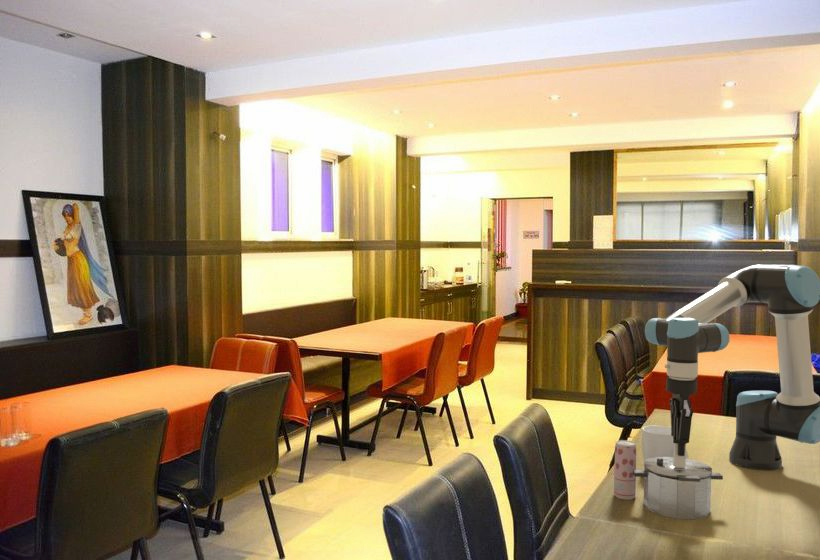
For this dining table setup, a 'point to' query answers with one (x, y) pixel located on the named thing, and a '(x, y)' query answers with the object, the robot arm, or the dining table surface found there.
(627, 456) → the beverage can
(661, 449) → the mug
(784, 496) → the dining table surface
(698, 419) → the dining table surface
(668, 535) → the dining table surface
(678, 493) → the pot
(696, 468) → the lid
